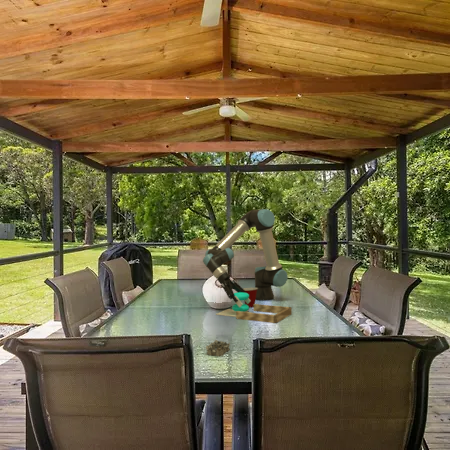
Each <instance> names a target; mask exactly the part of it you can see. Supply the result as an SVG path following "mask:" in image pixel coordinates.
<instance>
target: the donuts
mask: <svg viewBox="0 0 450 450" xmlns="http://www.w3.org/2000/svg"><path fill="white" fill-rule="evenodd" d="M233 293H234V295H235V296H237V298H238V299H239V300H240V301H244V300H246V299H248V298H249V294H247V293H243V292H233ZM242 304H243V305H242V306H241V307H239V306H238V305H237V304H236V303H235V304H233V305H232V306H231V309H233V310H234V311H241V312H245V311H249V310H250V307H249V306H248V305H246V304H245V303H242Z"/></svg>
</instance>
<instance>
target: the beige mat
mask: <svg viewBox="0 0 450 450" xmlns="http://www.w3.org/2000/svg"><path fill="white" fill-rule="evenodd" d="M236 312H237V311H234V310H233V309H232V308H228V309H225V310H222V311H220V312H216V313H215V315H216V316H225V317H233V318H236ZM245 312H249V310H248V311H245Z"/></svg>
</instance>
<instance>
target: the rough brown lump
mask: <svg viewBox="0 0 450 450" xmlns="http://www.w3.org/2000/svg"><path fill="white" fill-rule="evenodd" d="M230 346H231V343H230V342H228V343H227V341H222V340H217V339H215V340H214V341H213V342H211V343H210V344H209V345H206V346H205V349H206V353H207V355H208V356H216V357H221V356H222V357H223V356H224V354H226V353H227V352H229V351H230Z"/></svg>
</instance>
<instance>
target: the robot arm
mask: <svg viewBox="0 0 450 450" xmlns="http://www.w3.org/2000/svg"><path fill="white" fill-rule="evenodd" d="M275 218H276V217H275V214H274V213H273V212H272V211H271V210H270V209H268V208H267V209H264V208H260V209H252V210H249V211H248V212H246V213H245V214H244V215H243V216H241V217H240V219H238V220H237V223H236V225H235V226H233V227H232V229H230V230H229V231H228V233H227V234H226V235H224V237H222V239H221V240H219V241H218V242H217V244H216V245H214V247H213V248H211V249H207V250H206V251H205V254H204V257H203V259H202V262H203V264H204V265H205V266H206V268H207V269H208V270H209V272H210V273H211V274H212V275H213V277H214V278H215V279H216V280H217V282H218V283H220V286H221V287H222V289H223V290H224V292H225V294H226V296H227V297H228V299H230V300H233V302H234V303H235V304H237V305H238V306H239V307H241V306H242V305H243V304H244V303H245V302H246V303H247V304H248V303H249V302H250V301H251V300H250V299H249V298H248V299H246V300H245V301H244V303H242V300H239V299H238V298H237V296H235V295H234V293H235V292H236V293H238V292H243V293H244V292H245V290H244V288H243V287H241V285H240V284H239V283H237V281H236V280H235V279H233V280H231V275H230V274H229V273H228V272H227V270H226V269H225V267H223V266H222V265H224V264H225V263H228V262H229V261H232V259H234V256H235V253H234V251H233V250H232V249H231V246H232V245H234V243H235V242H236V241H237V240H239V238H240V237H241V236H243V235H244V233H245V232H248V231H249V230H250V229H253V228H255V232H257V233H258V234H259V238H260V242H261V247H262V251H263V255H264V259H265V264H266V266H256V267H255V268H254V288H258V289H257V293H256V300H255V301H272V300H275V295H274V292H273V288H272V287H280V288H281V287H283V286H285V285H286V284H287V281H288V279H289V278H288V276H289V275H288V272H287V271H286V270H285V269H283V265H282V264H281V263H280V261H279V257H278V256H279V255H278V254H277V253H278V252H277V249H276V244H275V239H274V236H273V228H274V224H275V221H276V219H275Z"/></svg>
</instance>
